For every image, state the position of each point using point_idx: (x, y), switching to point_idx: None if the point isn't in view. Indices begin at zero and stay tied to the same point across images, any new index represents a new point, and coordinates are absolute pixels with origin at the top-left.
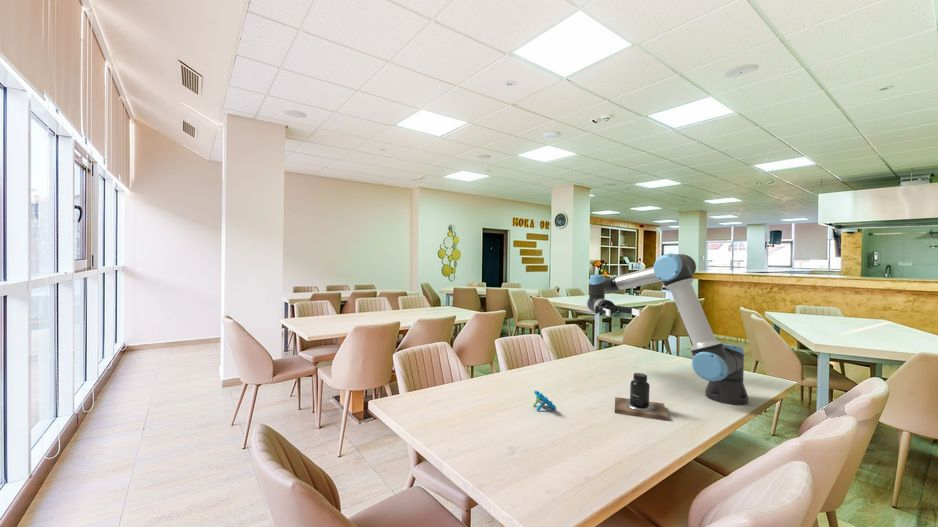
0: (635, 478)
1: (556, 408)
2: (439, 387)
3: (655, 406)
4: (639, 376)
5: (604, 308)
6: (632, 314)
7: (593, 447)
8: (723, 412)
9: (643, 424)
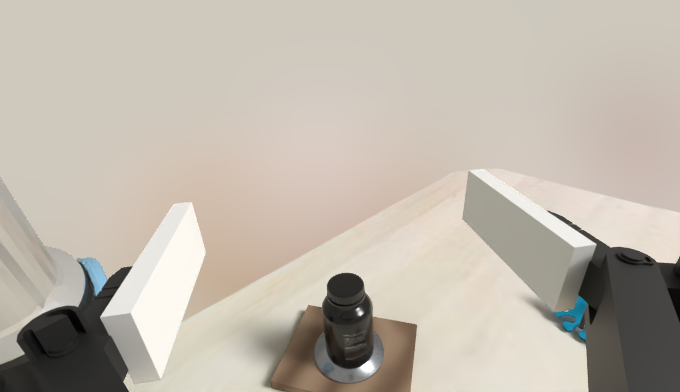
0: (408, 199)
1: (555, 314)
2: None
3: (307, 354)
4: (352, 273)
5: (562, 231)
6: (167, 360)
7: (452, 229)
8: (129, 376)
9: (365, 292)
